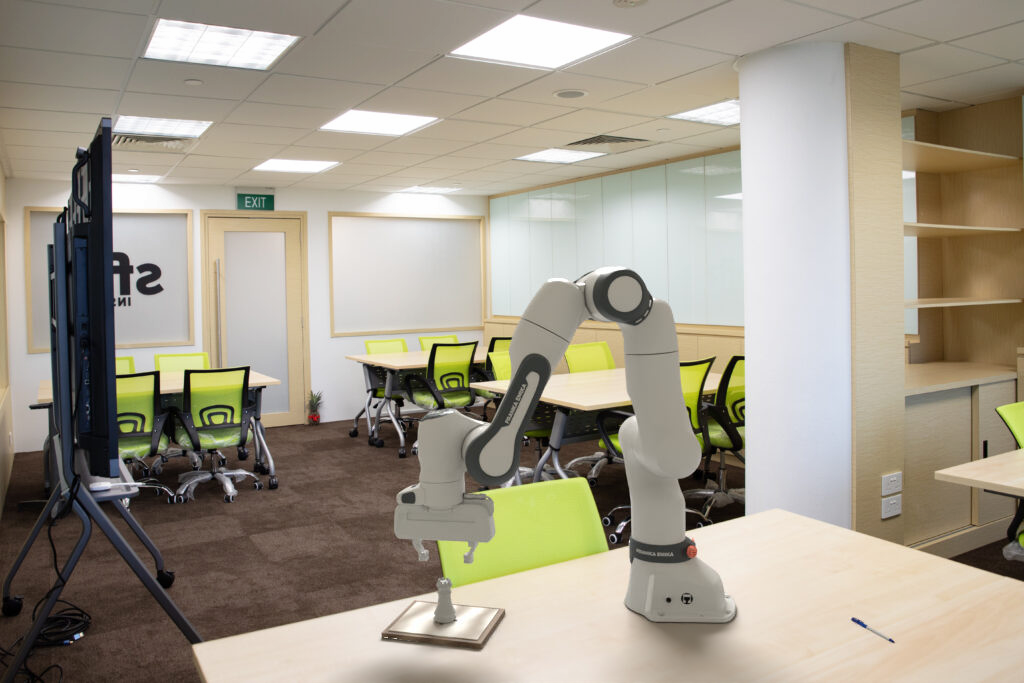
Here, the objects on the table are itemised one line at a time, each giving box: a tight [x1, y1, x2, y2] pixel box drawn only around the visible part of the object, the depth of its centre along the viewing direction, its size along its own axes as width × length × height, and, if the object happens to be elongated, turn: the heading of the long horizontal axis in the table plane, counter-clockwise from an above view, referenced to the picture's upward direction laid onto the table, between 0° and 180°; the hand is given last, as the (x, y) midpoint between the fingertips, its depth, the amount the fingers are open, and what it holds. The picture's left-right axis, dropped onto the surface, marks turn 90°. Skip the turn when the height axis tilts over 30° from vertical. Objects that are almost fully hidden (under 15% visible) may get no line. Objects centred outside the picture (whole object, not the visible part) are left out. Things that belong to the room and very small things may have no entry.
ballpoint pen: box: [850, 616, 895, 643], centre depth 144 cm, size 10×1×1 cm, turn 19°
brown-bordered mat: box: [381, 599, 506, 650], centre depth 150 cm, size 20×16×1 cm
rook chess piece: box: [434, 577, 456, 624], centre depth 150 cm, size 4×4×8 cm
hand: (446, 561), depth 150 cm, fingers open, 8 cm apart
